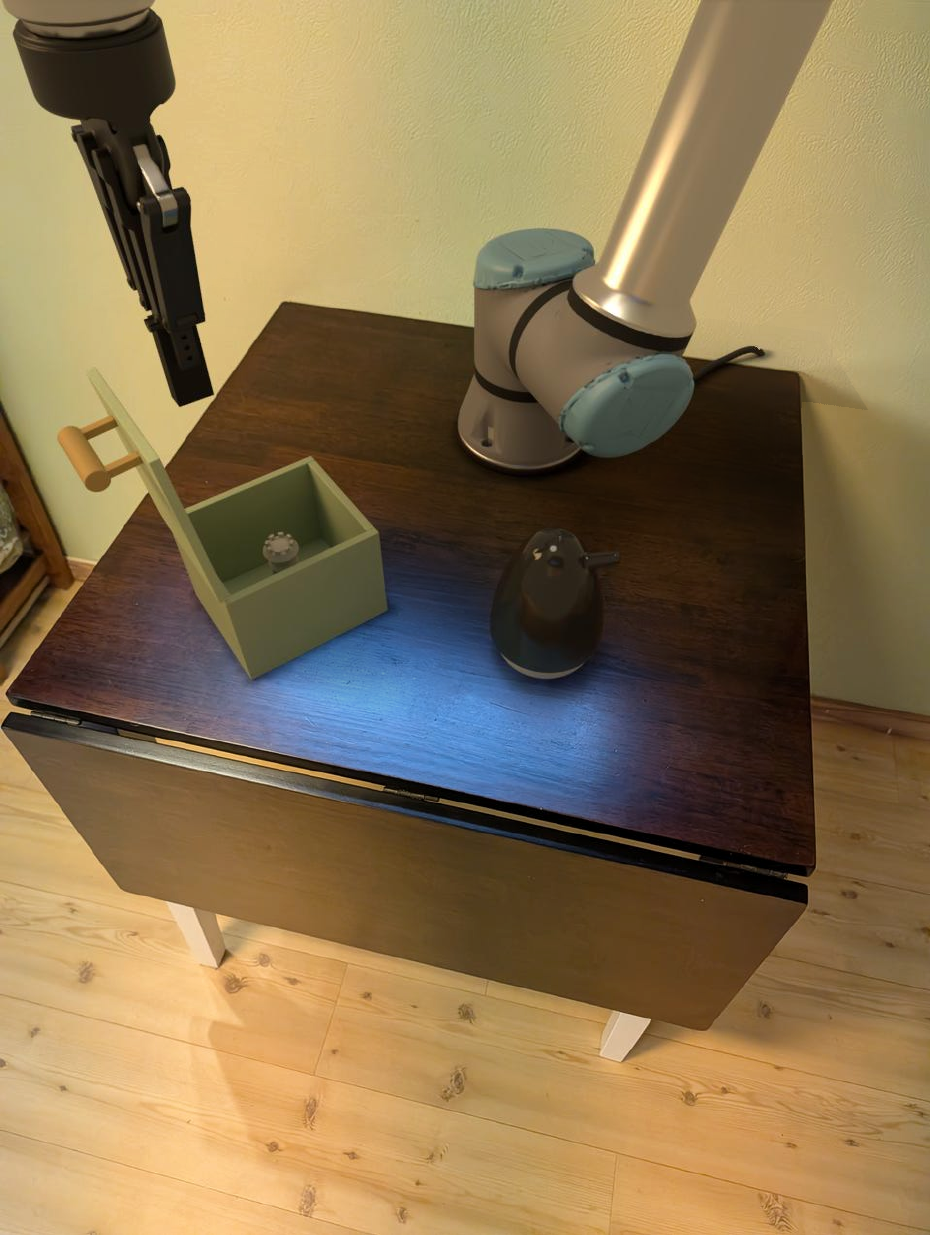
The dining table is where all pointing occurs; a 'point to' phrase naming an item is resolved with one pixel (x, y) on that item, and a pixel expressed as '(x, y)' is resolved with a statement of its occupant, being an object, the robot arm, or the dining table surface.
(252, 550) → the chest
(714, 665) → the dining table surface
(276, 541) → the rook chess piece
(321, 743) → the dining table surface
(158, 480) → the lid
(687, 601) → the dining table surface
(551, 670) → the pump dispenser
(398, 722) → the dining table surface
